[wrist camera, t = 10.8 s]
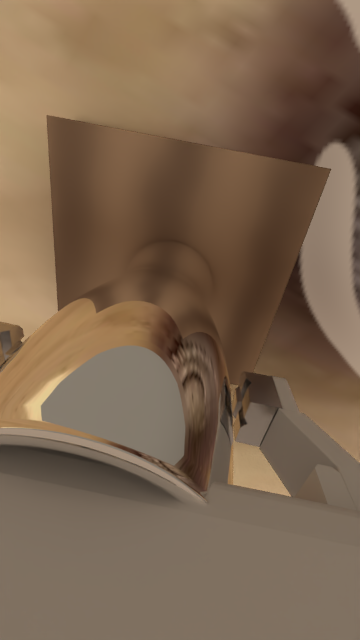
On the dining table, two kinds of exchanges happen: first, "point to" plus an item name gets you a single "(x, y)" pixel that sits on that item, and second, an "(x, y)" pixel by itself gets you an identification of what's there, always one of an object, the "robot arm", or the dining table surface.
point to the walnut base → (181, 219)
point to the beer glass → (130, 378)
